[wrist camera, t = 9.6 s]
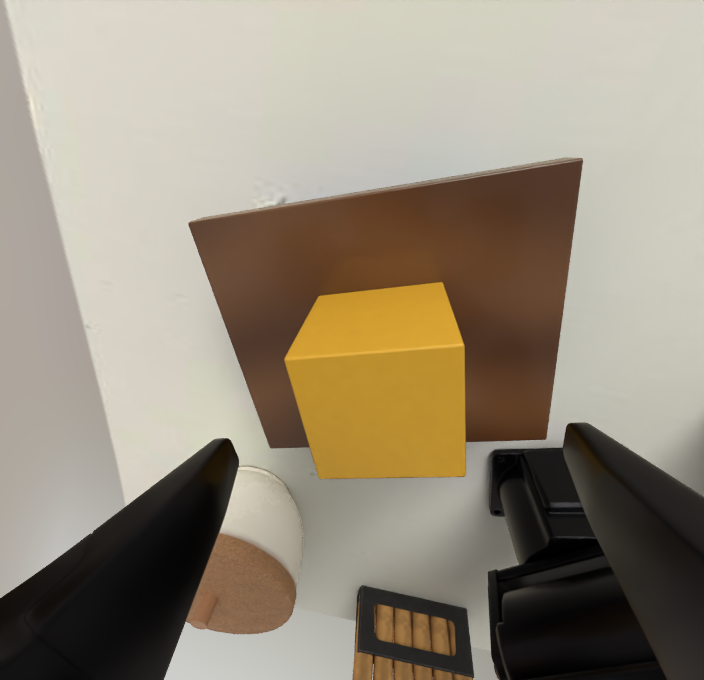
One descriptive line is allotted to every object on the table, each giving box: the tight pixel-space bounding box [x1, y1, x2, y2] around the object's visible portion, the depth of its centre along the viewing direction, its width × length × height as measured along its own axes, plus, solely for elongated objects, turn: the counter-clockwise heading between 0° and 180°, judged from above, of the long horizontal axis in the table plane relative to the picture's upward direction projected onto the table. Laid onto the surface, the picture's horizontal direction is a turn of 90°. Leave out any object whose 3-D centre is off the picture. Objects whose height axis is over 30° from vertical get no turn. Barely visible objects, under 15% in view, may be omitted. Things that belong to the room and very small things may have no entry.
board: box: [188, 158, 583, 448], centre depth 15 cm, size 12×14×1 cm
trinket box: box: [186, 466, 303, 634], centre depth 25 cm, size 11×11×9 cm
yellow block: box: [284, 282, 466, 479], centre depth 13 cm, size 5×5×5 cm
